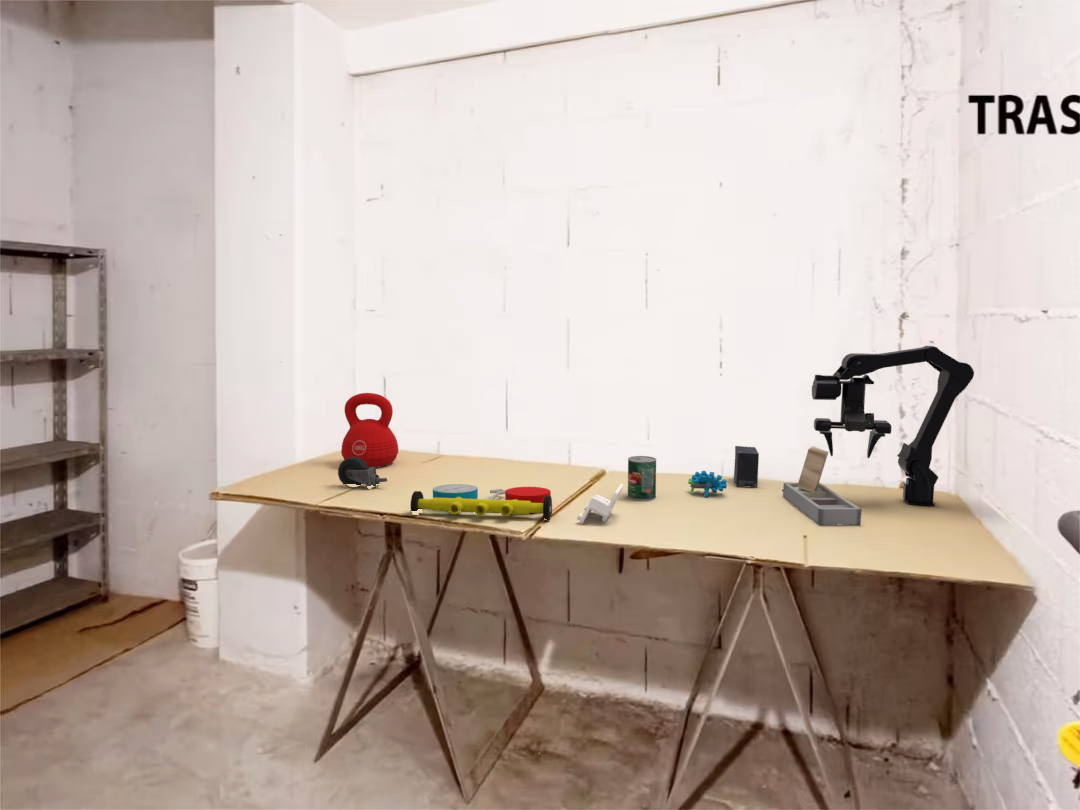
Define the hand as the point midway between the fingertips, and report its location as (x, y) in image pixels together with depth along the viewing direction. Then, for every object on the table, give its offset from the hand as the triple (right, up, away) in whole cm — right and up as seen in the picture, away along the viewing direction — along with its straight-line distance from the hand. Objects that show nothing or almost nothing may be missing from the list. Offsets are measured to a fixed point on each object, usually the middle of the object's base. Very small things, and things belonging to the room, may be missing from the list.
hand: (849, 456), depth 188 cm
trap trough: (-12, -13, -8) cm, 19 cm away
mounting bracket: (-69, -15, -14) cm, 72 cm away
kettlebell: (-143, -7, +49) cm, 152 cm away
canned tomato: (-56, -12, +6) cm, 58 cm away
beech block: (-12, -9, +1) cm, 14 cm away
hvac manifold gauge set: (-99, -14, -4) cm, 100 cm away
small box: (-22, -10, +21) cm, 32 cm away
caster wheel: (-138, -11, +19) cm, 139 cm away
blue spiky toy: (-37, -12, +8) cm, 40 cm away
